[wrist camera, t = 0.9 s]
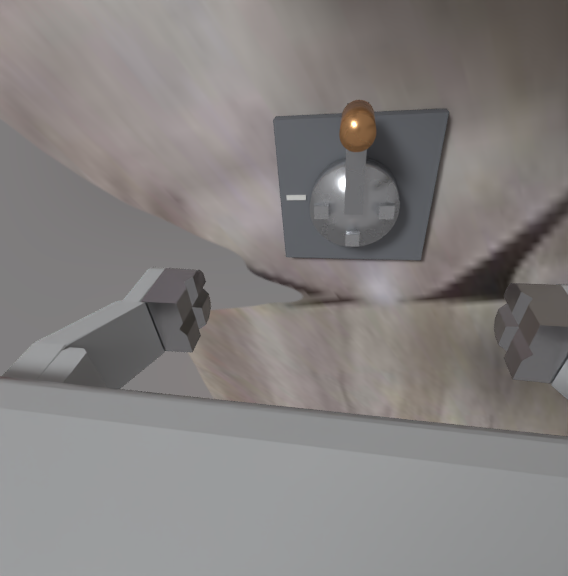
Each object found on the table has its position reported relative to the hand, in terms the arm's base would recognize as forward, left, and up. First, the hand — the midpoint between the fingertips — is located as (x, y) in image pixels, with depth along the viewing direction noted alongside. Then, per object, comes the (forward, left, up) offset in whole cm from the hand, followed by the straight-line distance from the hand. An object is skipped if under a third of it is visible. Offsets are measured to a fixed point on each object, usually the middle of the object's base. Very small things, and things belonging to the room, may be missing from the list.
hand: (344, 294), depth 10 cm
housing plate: (+13, 0, -35) cm, 37 cm away
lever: (+9, 0, -33) cm, 34 cm away
